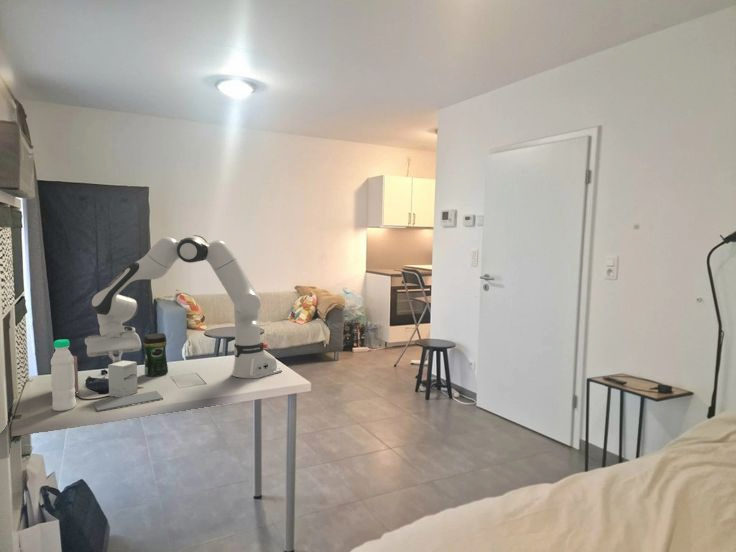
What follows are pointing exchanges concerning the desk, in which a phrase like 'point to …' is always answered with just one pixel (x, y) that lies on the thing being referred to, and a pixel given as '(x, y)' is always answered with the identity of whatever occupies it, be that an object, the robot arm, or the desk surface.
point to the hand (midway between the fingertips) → (117, 361)
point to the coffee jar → (155, 354)
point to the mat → (127, 400)
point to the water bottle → (63, 377)
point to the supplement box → (122, 378)
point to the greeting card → (75, 373)
